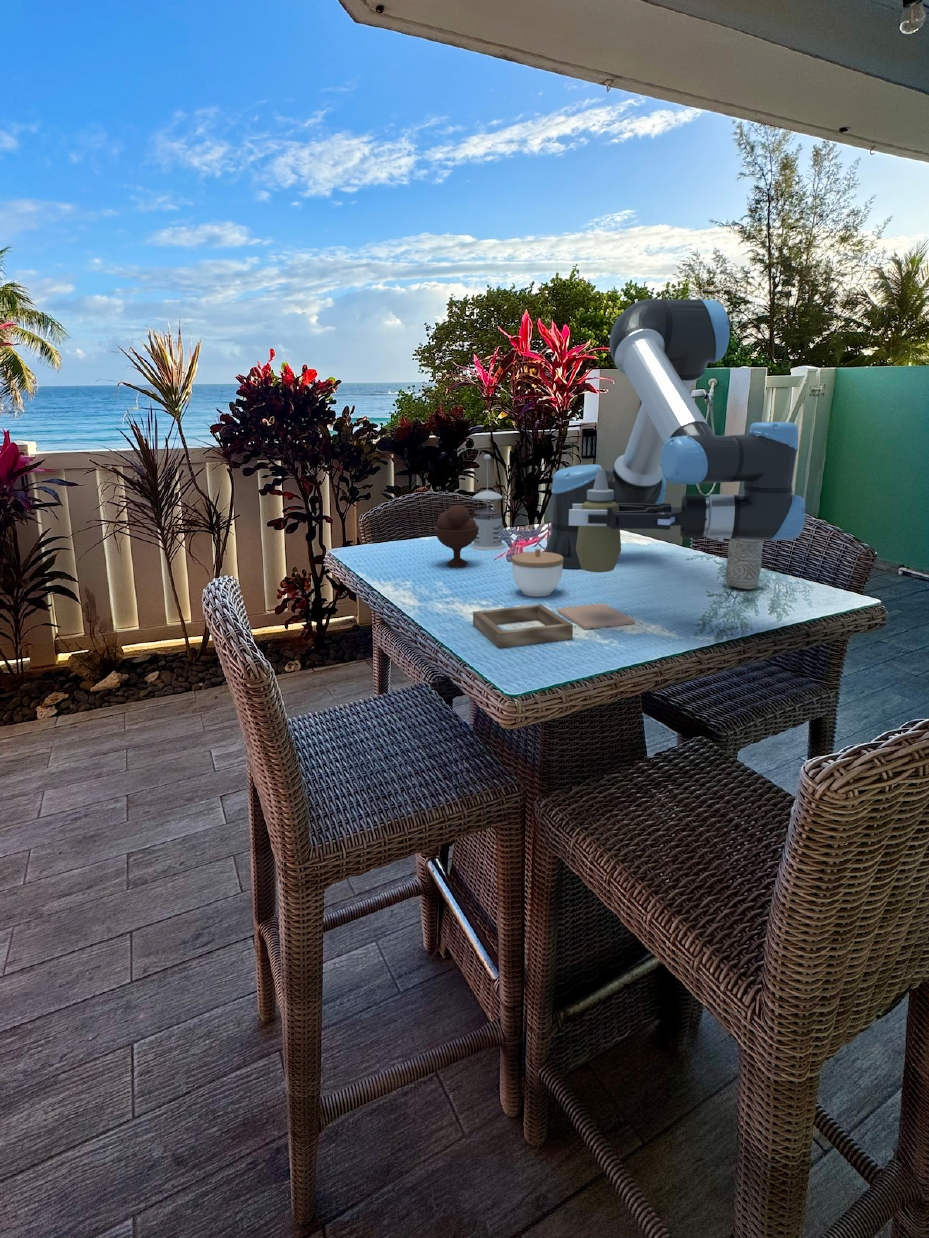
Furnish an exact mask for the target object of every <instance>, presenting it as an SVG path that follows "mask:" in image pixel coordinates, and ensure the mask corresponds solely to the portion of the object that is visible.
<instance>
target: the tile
mask: <svg viewBox="0 0 929 1238" xmlns="http://www.w3.org/2000/svg"><path fill="white" fill-rule="evenodd" d="M556 612H557V613H558V614H559V615H561V616H563V617H564V616H565V617H564V618H566V619H567V620H569V619H570V620H569V621H571V622H572V621H573V622H572V623H574V624H575V623H576V624H575V625H577V624H578V625H577V626H579V627H580V626H581V627H580V628H581V629H583V628H584V629H583V630H585V629H587V630H592V629H591V628H595V629H600V628H599V627H604V628H607V627H606V626H612V627H619V626H626V625H625V624H628V625H633V624H632V623H635V624H636V620H635V619H633V618H631V617H629V616H628V615H626V614H625V613H621V612H620V611H618V610H616V609H615V608H612V607H611V606H609V605H607V604H605V603H603V602H602V603H595V604H585V605H576V606H568V607H567V606H566V607H557V608H556Z"/></svg>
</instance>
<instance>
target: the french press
mask: <svg viewBox="0 0 929 1238" xmlns="http://www.w3.org/2000/svg"><path fill="white" fill-rule="evenodd" d="M483 459H484V460H486V489H485V490H483V491H481V492H478V493H476V494H475V495H473V496H472V499H473V500H475V501H485V503H486V505H487V506H486V507H487V508H486V509H478V510H475V511H474V514H475V515H476V516H473V517H472V519H473V520H475V523H476V525H478V527H479V529H478V534H477V536H476V539H475V540H474V541H473V543H471V544H470V546H471V547H470V549H472V548H473V549H472V550H475V551H476V550H477V551H496V550H497V551H499V550H503V549H505V548H506V545H505V544H504V543H503V516H501V515H500V514H501V512H502V511H501V510H498V509H495V503H494V501H499V500H502V499H503V496H502V495H501V494H500V493H498V492H496V491H491V490H490V489H489V477H488V476H489V474H488V473H489V472H488V471H489V469H488V468H489V462H488V461H489V460H491V459H492V457H491V455H490V454H488V453H487V454H485V455H484V456H483ZM489 501H490V502H491V504H489ZM489 506H492V508H493V509H489ZM489 516H490V519H489Z"/></svg>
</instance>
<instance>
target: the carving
mask: <svg viewBox="0 0 929 1238" xmlns="http://www.w3.org/2000/svg"><path fill="white" fill-rule="evenodd" d="M763 543H764V540H749V539H729V543H728V546H727V549H728V550H727V557H728V558H726V567H725V575H724V577H725V578H724V579H725V583H726V585H727V586H729V587H733V588H738V589H743V590H755V589H756V588H757V587H758V586H757V585H758V584H759V579H760V576H761V575H760V574H761V569H762V564H763V560H762V559H763V546H764V544H763Z"/></svg>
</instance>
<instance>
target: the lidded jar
mask: <svg viewBox="0 0 929 1238" xmlns="http://www.w3.org/2000/svg"><path fill="white" fill-rule="evenodd" d="M563 561H564V558H563V556H561V555H559V554H556V553H550V552H545V551H541V548H535V549H534V551H524V552H518V553H516V554H514V555H512V557H511V563H512V569H511V570H512V577H513V580H514V583H515V584H516V586H517V587H518V589H519V590H520V591H521V592H522V594H523V595H524V596H528V597H535V598H536V597H547V596H550V595H551V594H553V593H552V592H554V590H556V588H558V586H559V584H560V582H561V580H562V575H563V569H564V568H563Z"/></svg>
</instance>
